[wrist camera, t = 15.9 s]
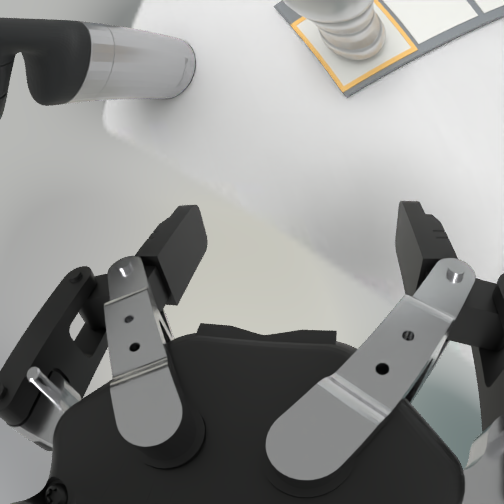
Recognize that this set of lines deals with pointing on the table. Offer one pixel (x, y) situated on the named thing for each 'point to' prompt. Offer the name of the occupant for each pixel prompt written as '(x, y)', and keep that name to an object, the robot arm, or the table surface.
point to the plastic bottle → (344, 25)
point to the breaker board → (397, 35)
